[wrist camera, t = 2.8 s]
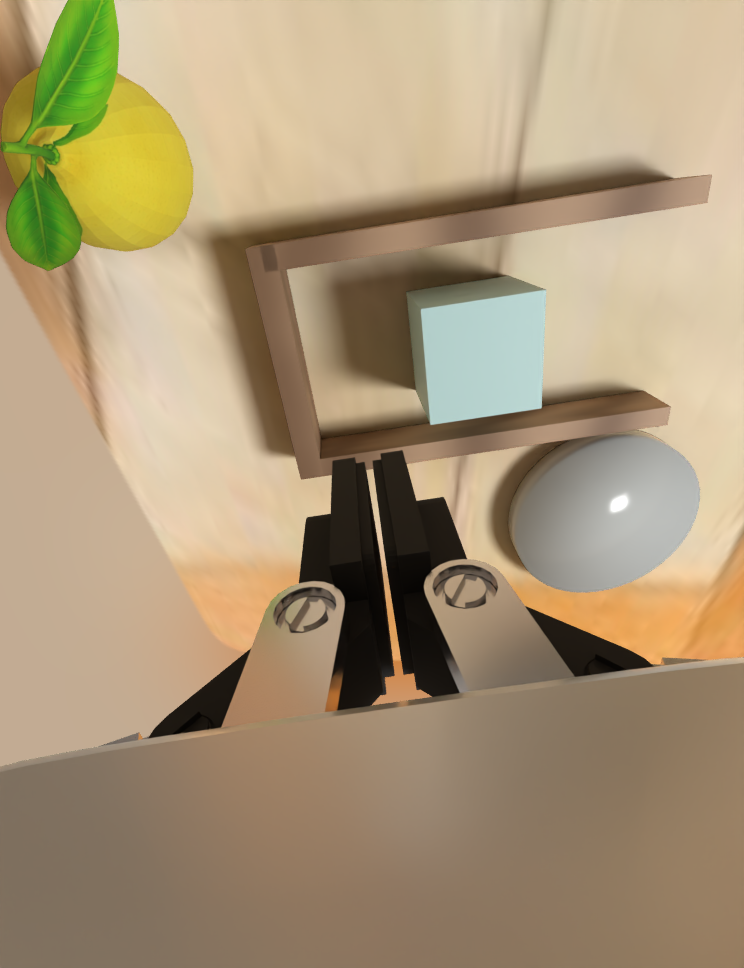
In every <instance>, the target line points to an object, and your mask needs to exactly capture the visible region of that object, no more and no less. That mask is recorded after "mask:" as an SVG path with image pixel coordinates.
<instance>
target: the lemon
mask: <svg viewBox="0 0 744 968" xmlns="http://www.w3.org/2000/svg"><path fill="white" fill-rule="evenodd" d="M118 50H119V32H118V25H117V18H116V11H115V5H114V0H68V1H67V3H66V5H65V7H64V9H63V11H62V13H61V15H60V17H59V19H58V21H57V23H56V25H55V27H54V30H53V33H52V36H51V38H50V41H49V44H48V46H47V49H46V52H45V55H44V58H43V61H42V63H41V66H40V67H38V68H36V69H35V70H34V71H32V72H31V73H30V74H28V75H27V76H25V77H24V78H23V79H21V80H20V81H19V82H17V84H16V85H15V86H14V88H13V90H12V92H11V94H10V96H9V98H8V100H7V102H6V103H5V105H4V109H3V116H2V123H1V131H0V133H1V140H2V142H1V151H2V152H3V154H4V159H5V162H6V164H7V167H8V169H9V171H10V174H11V176H12V179H13V181H14V184H15V185H16V187H17V188H18V190H17V192H16V194H15V196H14V198H13V199H12V201H11V204H10V206H9V209H8V211H7V219H6V229H7V234H8V237H9V240H10V243H11V246H12V248H13V249H14V250H15V251H16V252H17V254H18V255H19V256H20V257H21V258H22V259H24V260H25V261H27V262H29V263H31V264H33V265H36V266H38V267H41V268H43V269H45V270H47V271H50V270H52V269H54V268H56V267H59V266H61V265H63V264H65V263H66V262H68V261H69V260H71V259H72V258H74V256H75V255H76V253H77V252H78V251H79V249H80V245H81V241H82V242H84V243H86V244H88V245H91V246H94V247H100V248H106V249H113V250H119V251H134V250H139V249H144V248H149V247H153V246H155V245H157V244H158V243H160V242H161V241H163V240H165V239H166V238H168V237H169V236H171V235H172V234H174V232H175V231H176V229H177V228H178V227H179V225H180V224H181V223H182V221H183V220H184V219H185V217H186V215H187V211H188V208H189V205H190V201H191V198H192V195H193V167H192V163H191V160H190V156H189V153H188V149H187V146H186V143H185V140H184V138H183V136H182V135H181V133H180V131H179V129H178V128H177V126H176V124H175V122H174V121H173V119H172V117H171V115H170V114H169V113H168V112H167V111H166V110H165V109H164V108H163V107H162V106H161V105H160V104H159V103H158V102H157V101H156V100H155V99H154V98H153V97H152V96H151V95H150V94H149V93H148V92H147V91H146V90H145V89H144V88H142V87H141V86H139V85H137V84H135V83H134V82H132V81H130V80H129V79H127V78H125V77H123V76H122V75H120V74H118V73H117V68H118Z"/></svg>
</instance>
